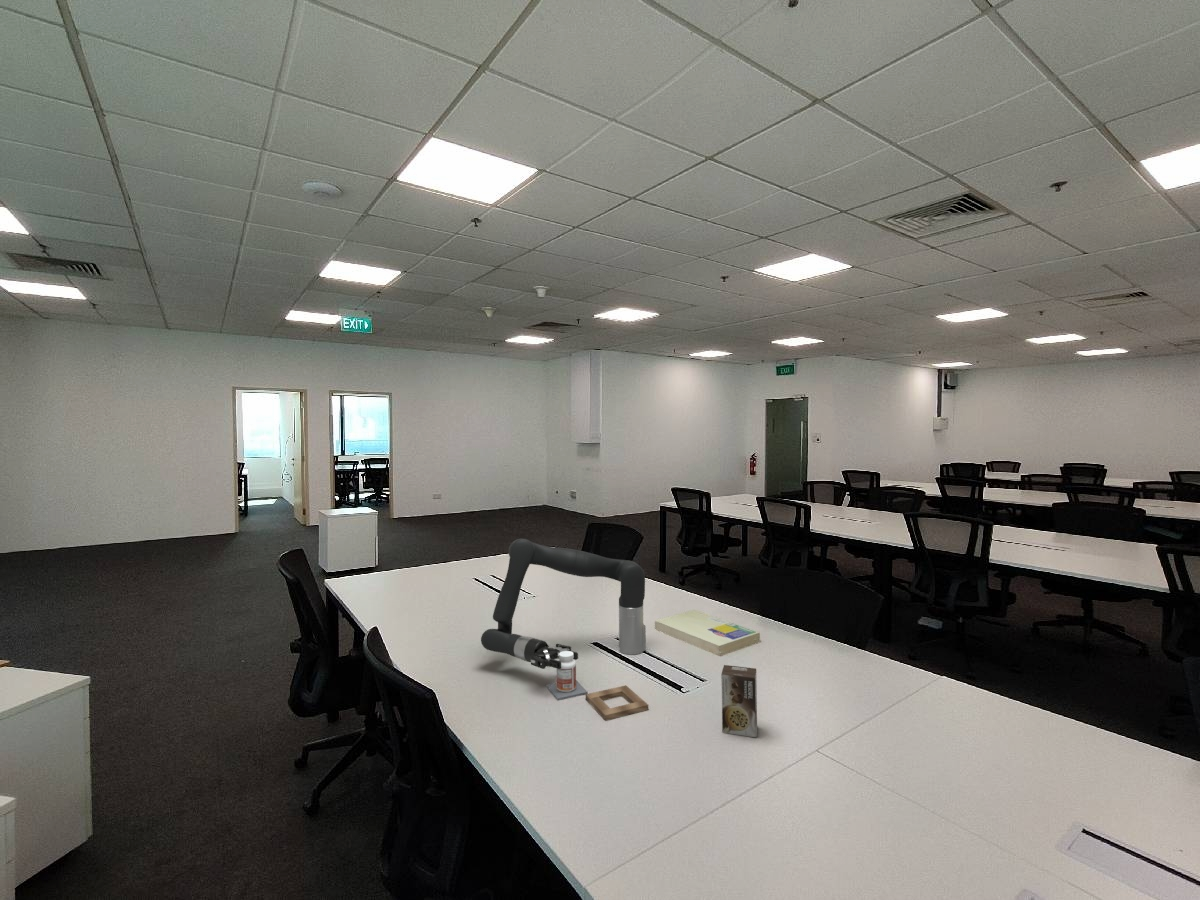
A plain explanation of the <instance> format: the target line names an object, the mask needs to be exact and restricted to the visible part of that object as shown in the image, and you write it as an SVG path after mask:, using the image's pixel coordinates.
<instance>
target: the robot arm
mask: <svg viewBox="0 0 1200 900" xmlns="http://www.w3.org/2000/svg"><path fill="white" fill-rule="evenodd" d="M508 557H509V559H508V560H509V561H508V567H507V571H506V576H505V579H504V582H503V584H502V587H501V589H500V592H499V594H498V596H497V600H496V603H495V607H494V609H493V614H492V619H493V621H495V622H497V628H488V629H486V630H484V631H483V633H482V635H481V636H480V642H481V646H482V647H483V649H484V650H487V651H490V652H496V653H503V654H506V655H509V656H511V657H515V658H518V659H519V660H522V661H525V662H529V663H530V665H531V666H534V667H536V668H540V669H541V670H545V669H546V668H554V669H556V670H557V669H560V668H561V662H560V661H558V660H559V653H560V652H562V651H571V652H573V653H574V658H573V659H574V660H575V661H576V660H578V659H579V653H578V652H577V651H573V650H572V646H569V645H565V644H560V643H556V644H555V646H550V645H549V644H548V643H547V641H545V640H542V639H539V638H535V637H531V636H525V635H521V634H517V633H513V619H514V615H515V611H516V608H517V603H518V600H519V597H520V593H521V589H522V585H523V582H524V579H525V576H526V573H527V571H528V569H529V567H530V565H537V566H541V567H546V568H548V569H552V570H554V571H557V572H561V573H562V574H568V575H571V576H576V577H583V578H596V577H598V578H599V577H600V578H607V579H611V580H615V581H618V582H619V583H620V596H619V597H618V651H619V652H621V654H625V655H638V654H642V652H644V651H646V649H647V648H646V646H647V645H646V643H647V642H646V641H647V640H646V637H647V636H646V632H647V631H646V630H647V629H646V628H647V627H646V625H645V624H644V599H645V594H646V574H645V571H644V569H643V568H642V567H641V566H640V565H639V564H638V563H637V562H635V561H632V560H626V559H618V558H610V557H605V556H601V555H599V554H595V553H591V552H587V551H583V550H578V549H574V548H566V547H557V546H555V547H553V546H547V545H543V544H539V543H536V542H533V541H530V540H529V539H527V538H517V539H515V540H514V541H512V542H511V543H510V544H509V546H508Z"/></svg>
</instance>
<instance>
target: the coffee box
mask: <svg viewBox="0 0 1200 900" xmlns="http://www.w3.org/2000/svg"><path fill="white" fill-rule="evenodd" d="M720 674H721V676H720V677H721V729H722V730H721V732H722V733H724V734H730V735H731V734H732V735H737V736H744V737H750V738H757V736H758V697H757V695H758V691H757V689H758V688H757V686H758V685H757V682H758V681H757V668H755V667H746V666H738V665H737V666H736V665H728V664H724V665H723V667H722V671H721V673H720Z"/></svg>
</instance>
